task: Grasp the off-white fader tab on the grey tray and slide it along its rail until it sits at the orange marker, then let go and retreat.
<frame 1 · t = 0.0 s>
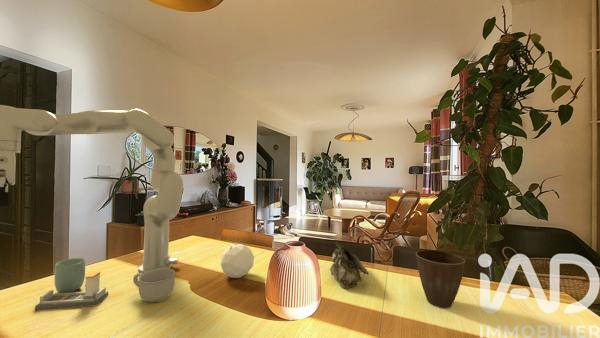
grey tray: (73, 301, 81), on the table
hollow geode rock: (346, 276, 108), on the table
plant pot: (438, 303, 87), on the table
cup: (69, 291, 88), on the table
geodesic sphere: (236, 276, 104), on the table
fader tab: (92, 284, 82), point 5 cm above the table, slide at 0.0 cm
teacup: (152, 297, 85), on the table
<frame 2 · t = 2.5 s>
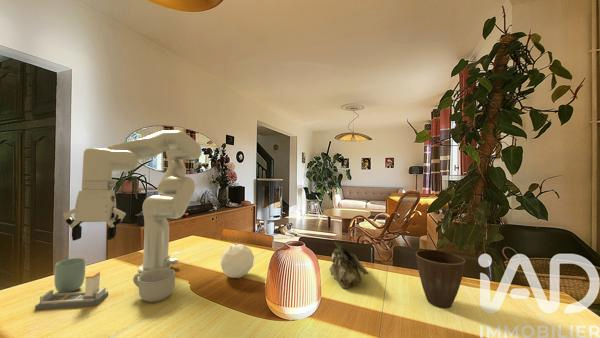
hand: (94, 239, 82), 20 cm above the table, tool pointing down, fingers open, 9 cm apart
nothing on the table moved.
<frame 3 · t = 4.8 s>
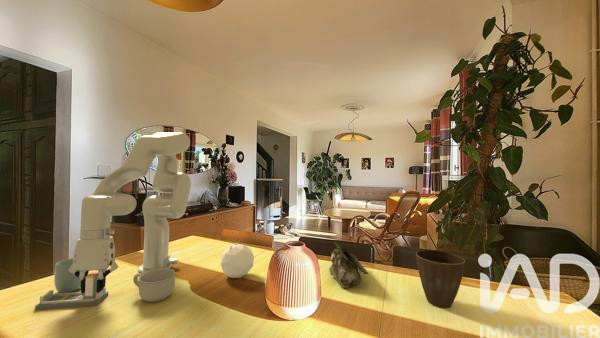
hand: (92, 290, 82), 3 cm above the table, tool pointing down, fingers open, 3 cm apart
nothing on the table moved.
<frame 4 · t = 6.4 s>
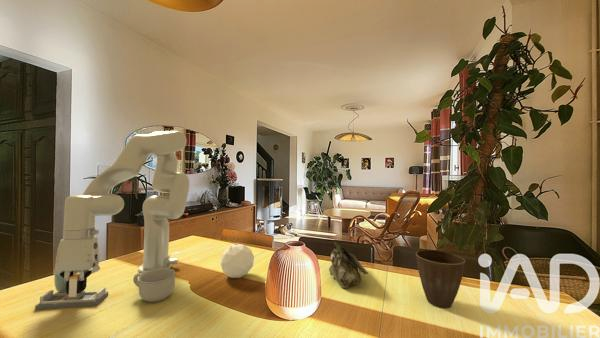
hand: (76, 291, 81), 3 cm above the table, tool pointing down, fingers closed on fader tab, 2 cm apart
fader tab: (76, 285, 81), point 5 cm above the table, slide at 4.4 cm, touching gripper
everything else where it was.
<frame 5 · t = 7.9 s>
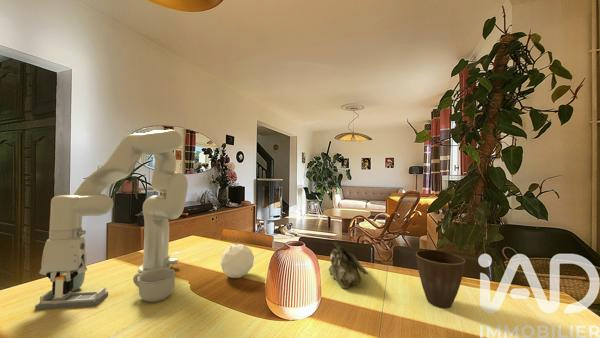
hand: (62, 292, 80), 3 cm above the table, tool pointing down, fingers closed on fader tab, 2 cm apart
fader tab: (63, 286, 80), point 5 cm above the table, slide at 8.1 cm, touching gripper
everything else where it was.
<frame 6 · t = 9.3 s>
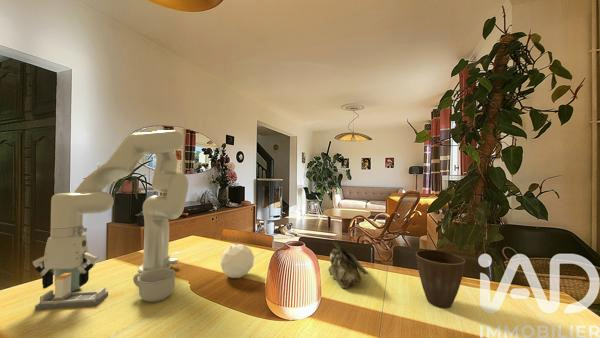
hand: (65, 285, 81), 5 cm above the table, tool pointing down, fingers open, 9 cm apart
fader tab: (63, 286, 80), point 5 cm above the table, slide at 8.1 cm
everything else where it was.
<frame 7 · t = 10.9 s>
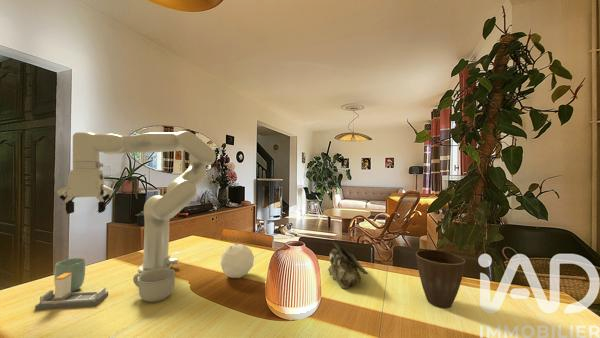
hand: (86, 212, 93), 26 cm above the table, tool pointing down, fingers open, 9 cm apart
nothing on the table moved.
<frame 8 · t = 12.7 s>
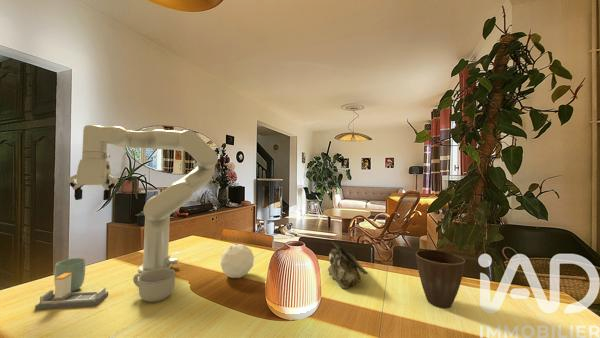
hand: (92, 199, 100), 30 cm above the table, tool pointing down, fingers open, 9 cm apart
at the end: fader tab slide at 8.1 cm; the gripper is holding nothing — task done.
